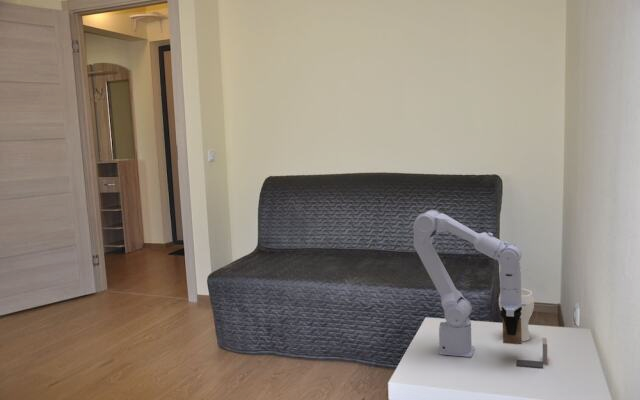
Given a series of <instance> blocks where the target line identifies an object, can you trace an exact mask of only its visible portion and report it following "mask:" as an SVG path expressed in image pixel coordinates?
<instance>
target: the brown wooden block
mask: <svg viewBox="0 0 640 400" xmlns="http://www.w3.org/2000/svg"><path fill="white" fill-rule="evenodd" d="M502 343H503V344H513V345H522V343H523V341H522V332H521V318H519V320H518V324H517V330H516V335H508V334H507V330H506V326H505V322H504V319H503V318H502Z"/></svg>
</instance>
